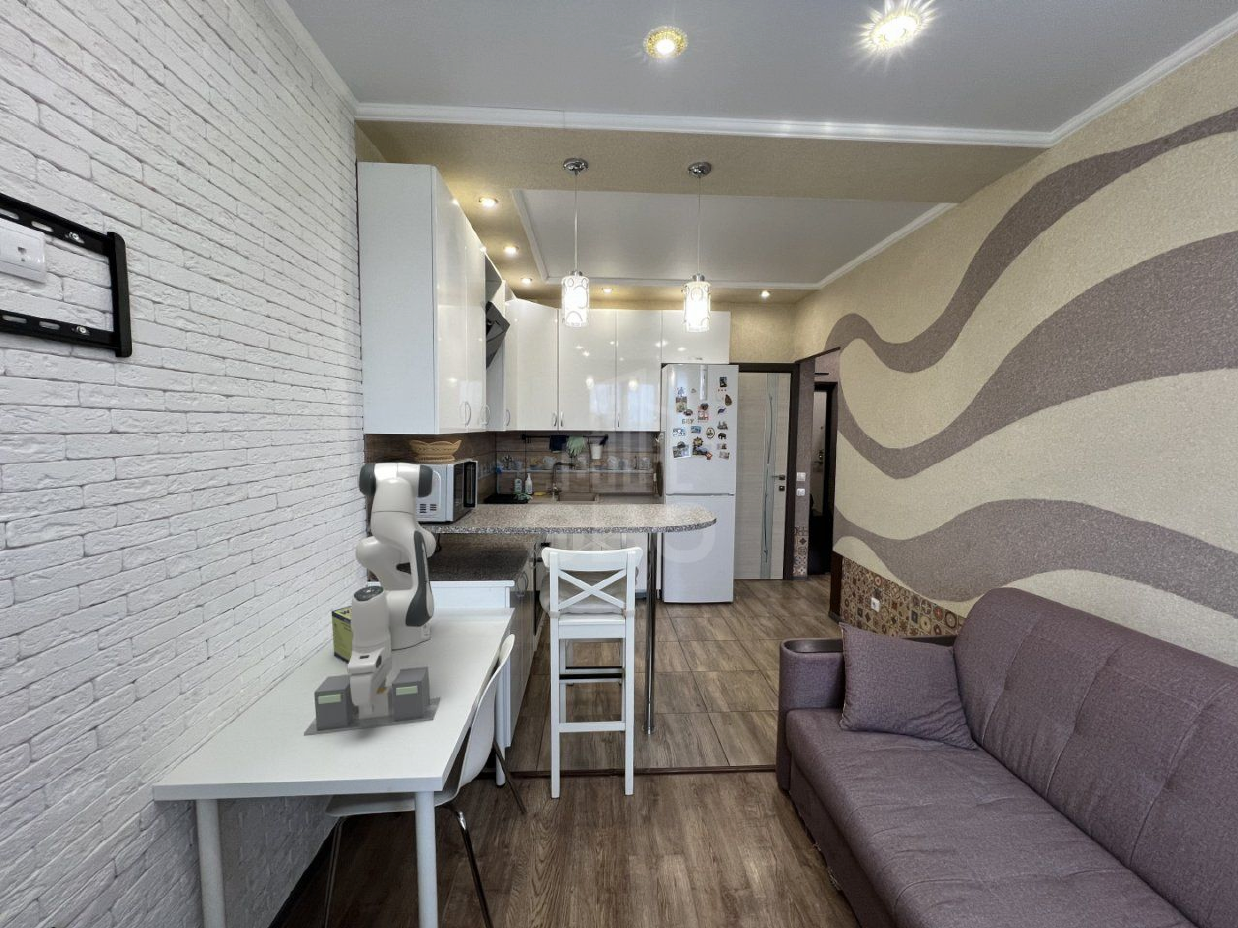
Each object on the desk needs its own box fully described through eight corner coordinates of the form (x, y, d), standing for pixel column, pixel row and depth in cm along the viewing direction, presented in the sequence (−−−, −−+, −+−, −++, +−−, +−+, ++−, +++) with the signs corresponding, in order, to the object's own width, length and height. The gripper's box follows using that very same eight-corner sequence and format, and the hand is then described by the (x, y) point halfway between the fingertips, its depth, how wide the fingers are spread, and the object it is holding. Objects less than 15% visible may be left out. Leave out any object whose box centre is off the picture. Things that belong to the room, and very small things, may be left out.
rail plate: (321, 712, 129) (321, 710, 129) (440, 699, 134) (440, 697, 134) (303, 735, 120) (303, 732, 120) (432, 719, 124) (432, 717, 124)
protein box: (355, 668, 155) (352, 619, 154) (333, 656, 164) (330, 610, 163) (387, 655, 163) (384, 610, 162) (364, 644, 172) (362, 601, 172)
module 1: (330, 713, 129) (327, 676, 128) (358, 710, 130) (356, 673, 129) (316, 732, 120) (313, 693, 120) (346, 729, 122) (344, 689, 121)
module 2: (402, 705, 132) (400, 669, 131) (430, 702, 133) (428, 666, 132) (393, 723, 123) (391, 684, 123) (422, 719, 125) (420, 681, 124)
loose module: (364, 711, 128) (362, 688, 128) (392, 708, 129) (391, 685, 129) (359, 719, 125) (358, 695, 124) (388, 715, 126) (387, 692, 126)
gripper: (372, 636, 136) (375, 684, 136) (344, 670, 116) (347, 727, 116) (396, 634, 137) (399, 682, 138) (372, 668, 117) (376, 724, 117)
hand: (375, 703), depth 127 cm, fingers open, 8 cm apart
